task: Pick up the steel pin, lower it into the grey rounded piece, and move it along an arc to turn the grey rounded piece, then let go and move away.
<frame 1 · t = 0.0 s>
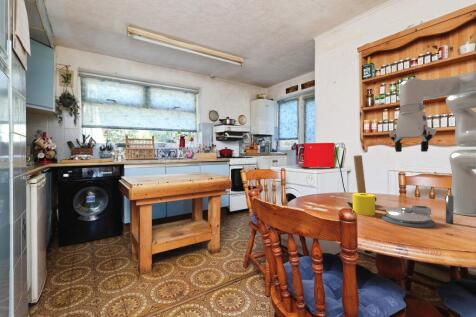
hand: (410, 151, 96), 31 cm above the table, fingers open, 9 cm apart
hammer: (362, 207, 131), on the table
nut base: (406, 221, 104), on the table
steel pin: (449, 223, 100), on the table
tape roll: (363, 213, 118), on the table
grey rounded piece: (407, 212, 104), point 4 cm above the table, hinge at 0.0°
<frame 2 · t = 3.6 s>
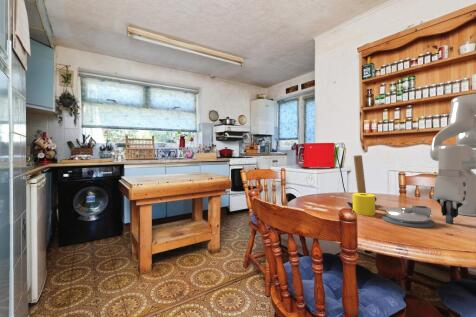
hand: (449, 215, 100), 3 cm above the table, fingers closed on steel pin, 2 cm apart
steel pin: (449, 223, 100), on the table, touching gripper
everything else where it was.
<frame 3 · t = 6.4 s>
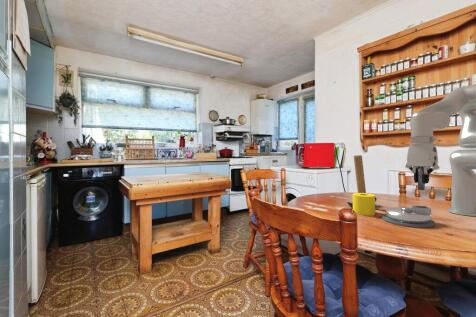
hand: (421, 182, 101), 18 cm above the table, fingers closed on steel pin, 2 cm apart
steel pin: (421, 189, 101), point 14 cm above the table, touching gripper
everything else where it was.
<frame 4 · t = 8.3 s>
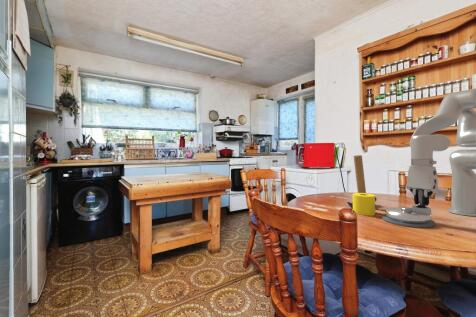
hand: (421, 204, 102), 8 cm above the table, fingers closed on steel pin, 2 cm apart
steel pin: (421, 211, 102), point 5 cm above the table, touching gripper
everything else where it was.
when the fingers open (8 cm above the table, at t = 10.0 s): steel pin stays where it is, resting on grey rounded piece.
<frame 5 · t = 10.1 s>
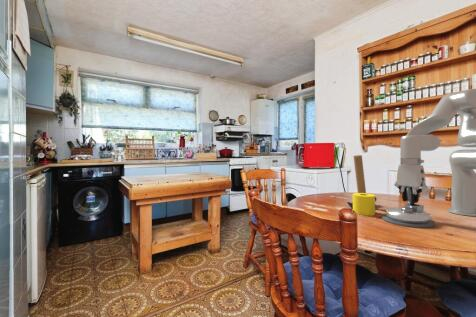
hand: (410, 201, 107), 8 cm above the table, fingers open, 3 cm apart
steel pin: (411, 209, 106), point 5 cm above the table, tilted 6°, touching gripper, grey rounded piece
grey rounded piece: (407, 212, 104), point 4 cm above the table, hinge at 45.4°, touching steel pin
everything else where it was.
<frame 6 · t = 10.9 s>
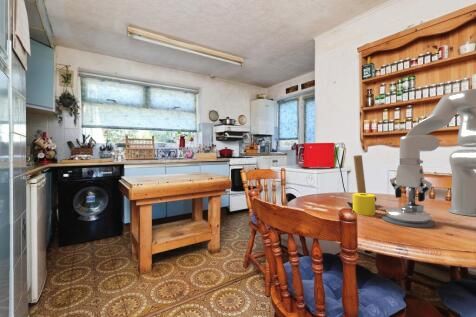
hand: (409, 199, 107), 9 cm above the table, fingers open, 9 cm apart
steel pin: (411, 210, 106), point 4 cm above the table, touching grey rounded piece
everything else where it was.
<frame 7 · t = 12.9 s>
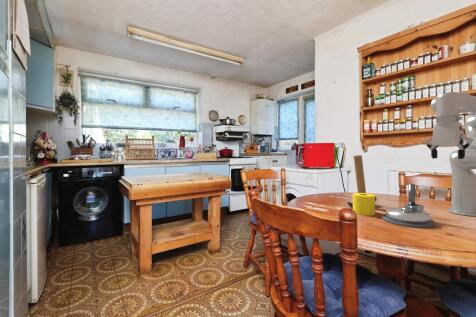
hand: (447, 158, 105), 28 cm above the table, fingers open, 9 cm apart
nothing on the table moved.
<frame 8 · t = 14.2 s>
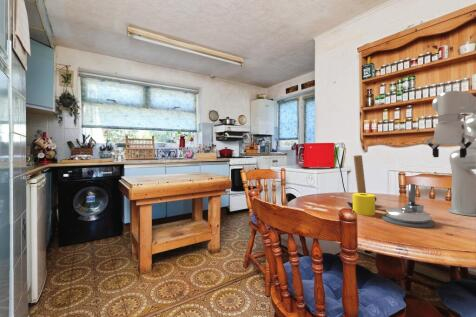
hand: (448, 157, 104), 28 cm above the table, fingers open, 9 cm apart
nothing on the table moved.
at the end: grey rounded piece at +46° (first picture: +0°); steel pin 0.6 cm from the target spot, point 4.2 cm above the table; steel pin tilted 0° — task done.
